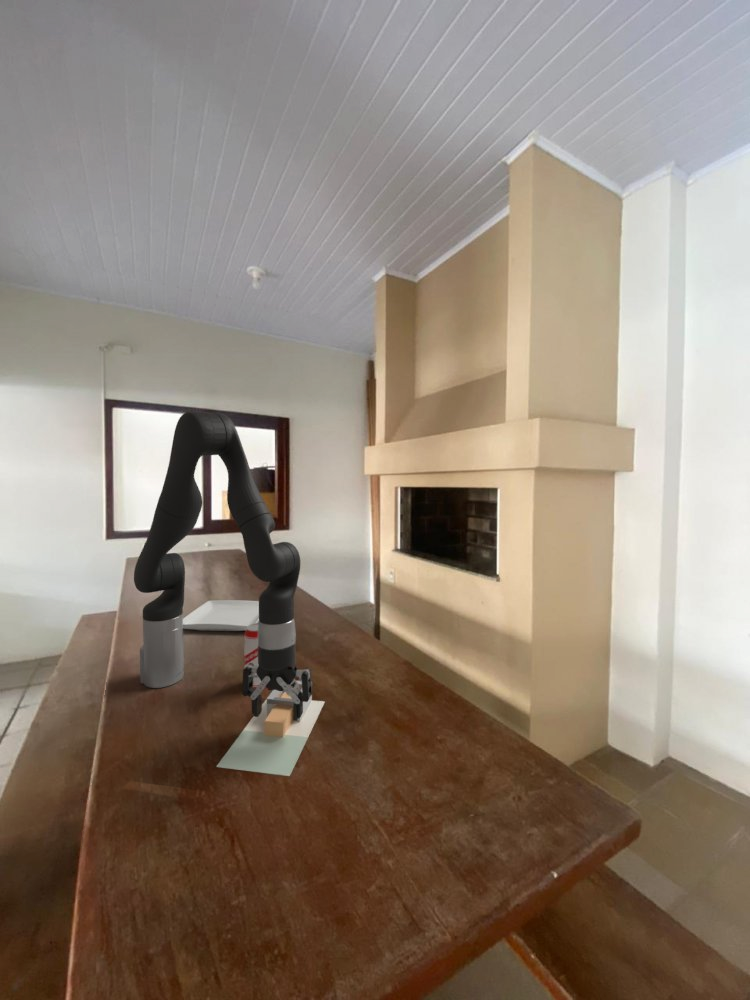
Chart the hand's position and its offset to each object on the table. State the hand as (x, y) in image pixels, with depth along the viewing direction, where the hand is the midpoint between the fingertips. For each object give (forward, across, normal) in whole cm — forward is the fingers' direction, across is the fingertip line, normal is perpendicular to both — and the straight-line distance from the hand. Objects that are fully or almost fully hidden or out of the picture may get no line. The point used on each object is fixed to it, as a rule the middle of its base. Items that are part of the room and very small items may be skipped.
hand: (277, 716), depth 81 cm
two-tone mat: (+4, 0, +1) cm, 4 cm away
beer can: (+4, -12, +17) cm, 21 cm away
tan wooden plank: (+3, 0, +4) cm, 6 cm away
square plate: (+4, -43, +60) cm, 74 cm away
